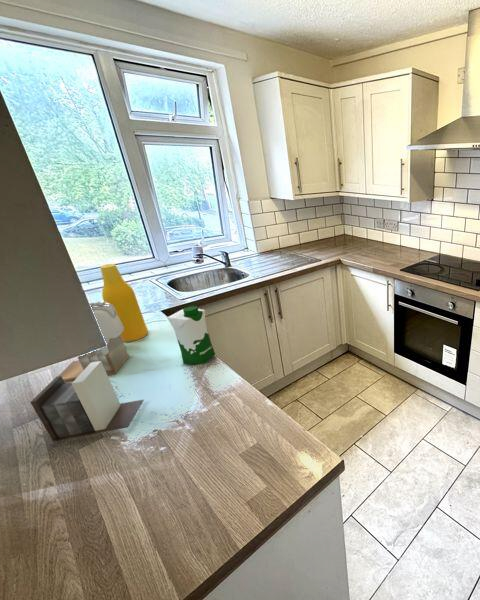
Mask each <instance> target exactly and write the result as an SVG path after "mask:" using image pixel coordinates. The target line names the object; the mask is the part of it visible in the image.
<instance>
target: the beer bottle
mask: <svg viewBox="0 0 480 600" xmlns="http://www.w3.org/2000/svg"><path fill="white" fill-rule="evenodd" d="M99 269H100V273H101V276H102V280H103V286H102V291H101V295H102V300H103V302H105V303H109V304H111V305H113V306H114V308H115V311H116V314H117V316H118V317H119V319H120V321H121V323H122V325H123V327H124V329H123V331H122V333H121V334H120V335H121V337H122V340H123V342H125V343H126V342H127V343H128V342H134V341H138V340H140V339H142V338H145V337H146V336H147V335H148V332H149V329H148V326H147V325H146V322H145V319H144V315H143V313H142V310H141V308H140V305H139V302H138V299H137V297H136V294H135V291H134V289H133V288H132V287H131V286H130V284H128V282H127V281H125V279H123V276H122V275H121V273H120V271H119V269H118V266H117V265H116V264H115V263H108V264H102V265H101V266H99ZM105 305H106V304H105Z"/></svg>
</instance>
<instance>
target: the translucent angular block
mask: <svg viewBox="0 0 480 600" xmlns="http://www.w3.org/2000/svg"><path fill="white" fill-rule="evenodd" d="M107 348H108V350H109V352H108V353H107V355H100V356H99V355H98V353H97V351H93V352H91V353H88V354H85V355H83V356H79V357H77V360H73V361H71V363H70V364H69V365H68V366H67V367H66V368H64V370H63V371H62V372H61V373H59V375H58V376H61V377H62V379H63V381H64V383H67V382H73V381H74V380H75V379H76V378H77V377H78V376H79V375H80V374H81V373H82V372H83V371H84V370H85V368H86V367H87V366H88V365H89V364H90V363H91V362H98V361H101V362H102V364H103V366H104V369H105V371H106V373H107V375H108V376H110V375H111V376H112V375H116V374H118V372H119V370H120V369H121V368H122V366H123V365H124V364H125V363H126V361H127V360H128V359H129V357H130V356H131V355H130V353H129V352H128V350H127V348H126V345H125V343H124V341H123V340H122V337H121V335H119V336H118V337H117V338H111V339H109V342H108V344H107Z"/></svg>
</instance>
